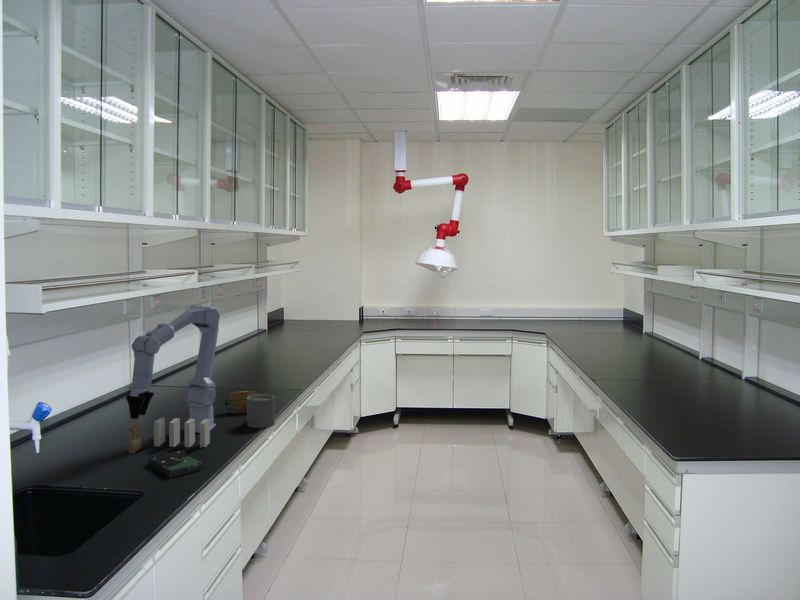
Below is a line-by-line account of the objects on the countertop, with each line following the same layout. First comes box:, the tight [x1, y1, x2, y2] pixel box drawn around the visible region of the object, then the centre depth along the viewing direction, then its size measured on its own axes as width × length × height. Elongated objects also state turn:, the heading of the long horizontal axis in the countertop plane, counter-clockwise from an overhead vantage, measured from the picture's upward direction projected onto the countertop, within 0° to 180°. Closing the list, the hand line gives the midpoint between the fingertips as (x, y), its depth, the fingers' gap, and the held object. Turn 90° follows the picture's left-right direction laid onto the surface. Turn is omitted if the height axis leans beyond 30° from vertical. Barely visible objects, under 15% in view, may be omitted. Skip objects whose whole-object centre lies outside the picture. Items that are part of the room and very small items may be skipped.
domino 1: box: [153, 417, 166, 447], centre depth 201 cm, size 2×5×8 cm, turn 179°
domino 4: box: [199, 419, 211, 448], centre depth 201 cm, size 2×5×8 cm, turn 179°
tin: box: [223, 390, 262, 415], centre depth 241 cm, size 15×3×8 cm, turn 111°
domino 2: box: [168, 417, 181, 448], centre depth 201 cm, size 2×5×8 cm, turn 179°
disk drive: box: [148, 450, 204, 479], centre depth 181 cm, size 10×3×15 cm
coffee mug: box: [246, 393, 276, 429], centre depth 227 cm, size 13×10×10 cm
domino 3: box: [183, 418, 196, 448], centre depth 201 cm, size 2×5×8 cm, turn 179°
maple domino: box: [128, 423, 142, 454], centre depth 194 cm, size 2×5×8 cm, turn 179°
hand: (137, 416), depth 193 cm, fingers open, 7 cm apart
